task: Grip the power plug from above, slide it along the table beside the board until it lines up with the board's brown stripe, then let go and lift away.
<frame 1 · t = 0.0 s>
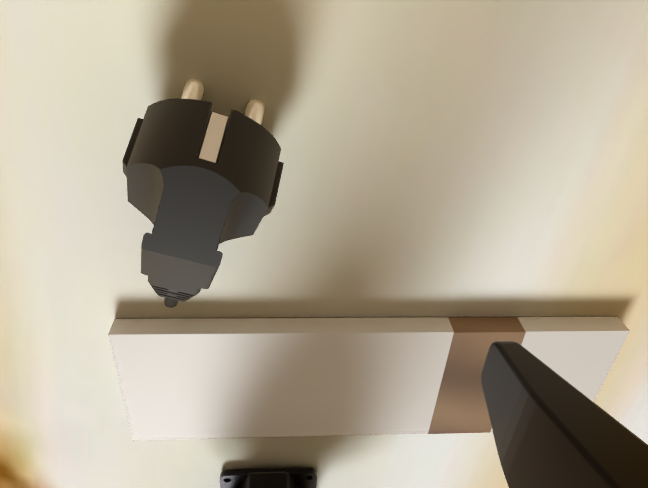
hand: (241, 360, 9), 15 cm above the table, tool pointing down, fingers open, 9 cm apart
power plug: (198, 200, 24), on the table
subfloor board: (369, 372, 30), on the table
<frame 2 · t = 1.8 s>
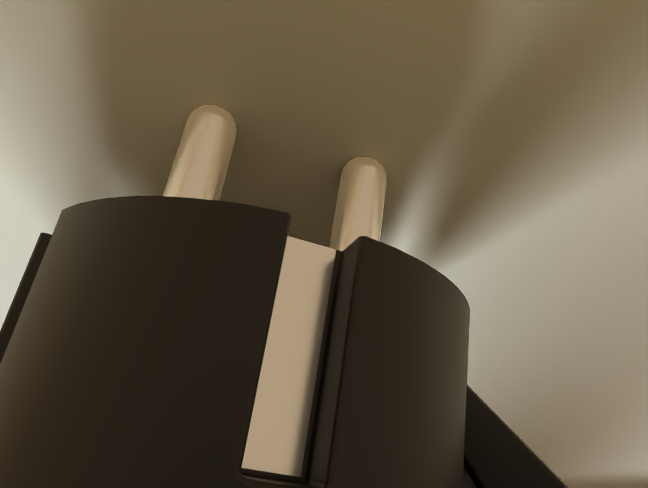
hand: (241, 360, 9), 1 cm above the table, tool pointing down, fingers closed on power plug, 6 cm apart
power plug: (212, 356, 11), on the table, touching gripper
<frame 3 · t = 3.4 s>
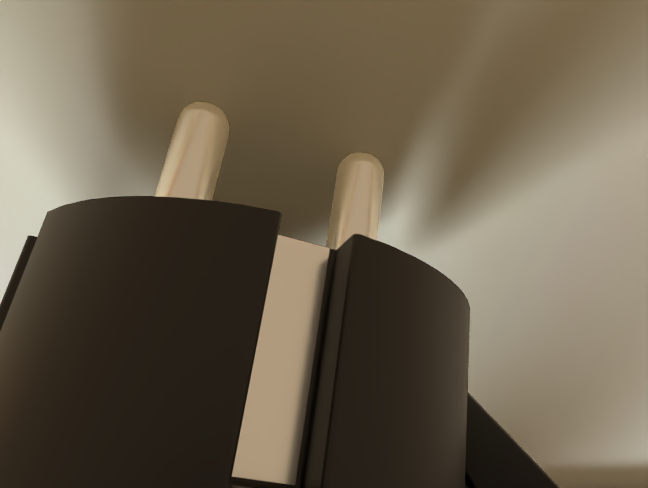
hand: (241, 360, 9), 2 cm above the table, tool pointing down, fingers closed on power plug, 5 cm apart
power plug: (211, 357, 11), on the table, touching gripper
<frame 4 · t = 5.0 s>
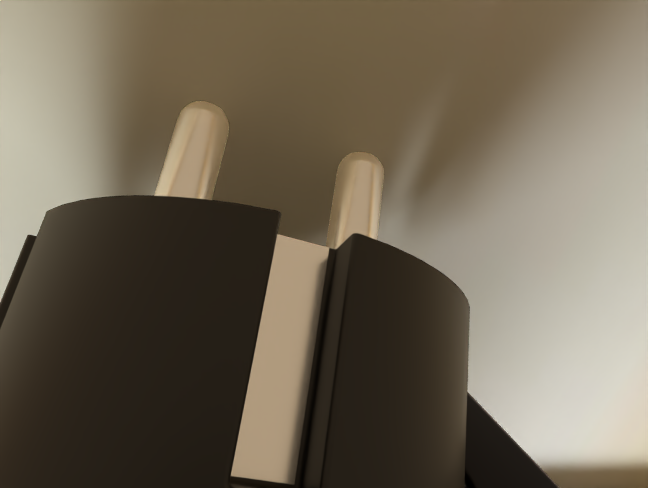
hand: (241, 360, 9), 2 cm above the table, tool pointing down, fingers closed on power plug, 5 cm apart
power plug: (211, 356, 11), on the table, touching gripper
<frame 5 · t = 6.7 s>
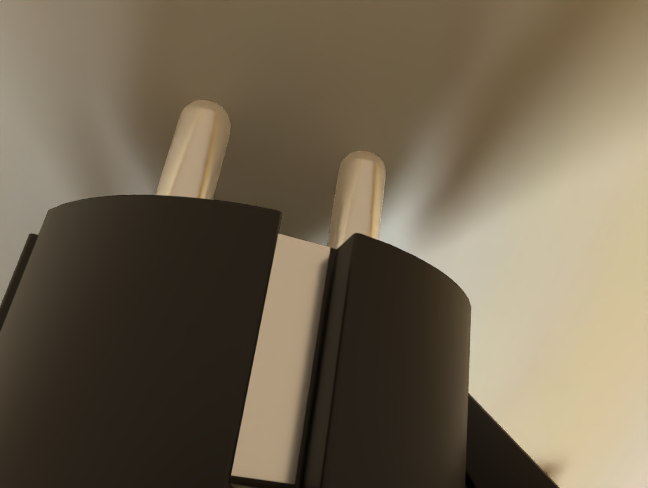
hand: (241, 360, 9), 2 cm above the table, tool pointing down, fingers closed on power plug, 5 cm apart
power plug: (212, 355, 11), on the table, touching gripper
when the fingers open (1 cm above the table, at t = 8.0 s): power plug stays where it is, on the table.
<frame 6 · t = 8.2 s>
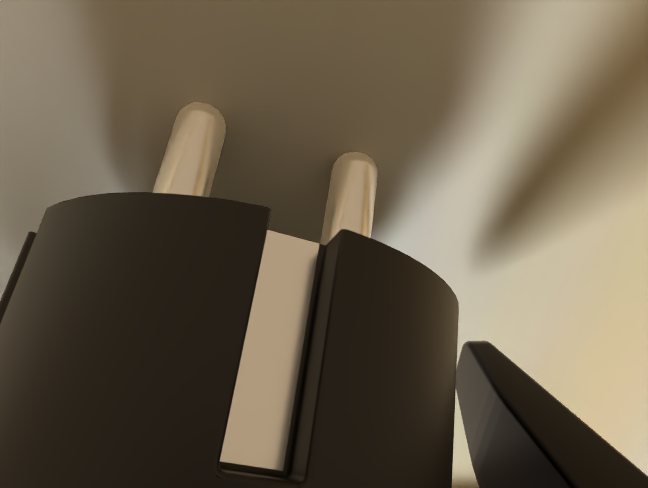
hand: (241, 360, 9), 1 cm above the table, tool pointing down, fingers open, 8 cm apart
power plug: (209, 354, 11), on the table
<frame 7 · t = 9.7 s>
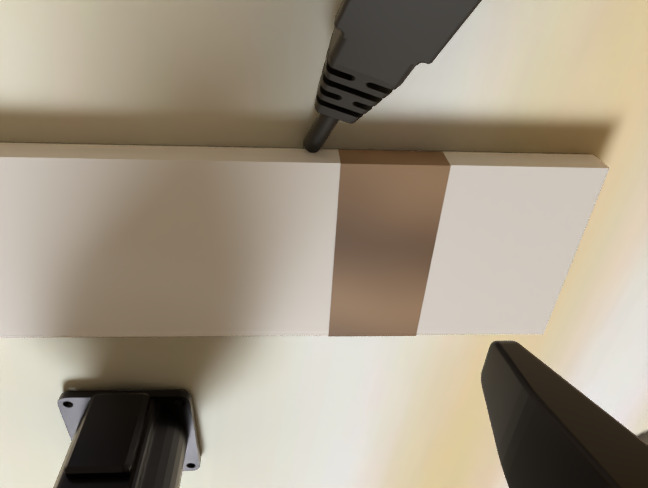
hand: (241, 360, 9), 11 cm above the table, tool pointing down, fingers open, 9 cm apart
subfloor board: (236, 242, 21), on the table
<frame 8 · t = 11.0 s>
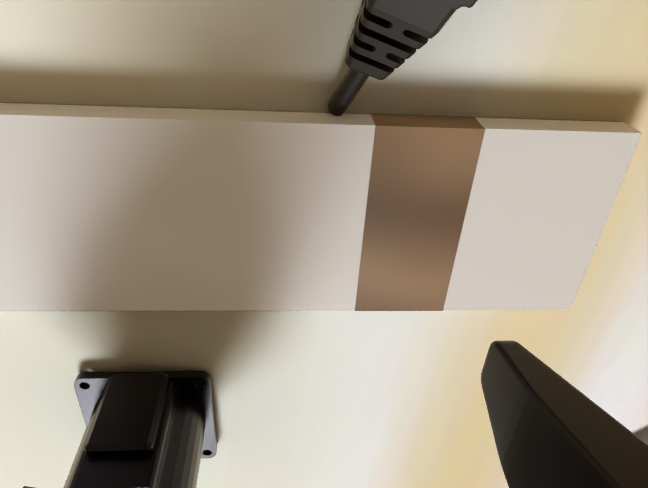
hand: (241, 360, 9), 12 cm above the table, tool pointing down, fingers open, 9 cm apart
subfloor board: (263, 212, 21), on the table
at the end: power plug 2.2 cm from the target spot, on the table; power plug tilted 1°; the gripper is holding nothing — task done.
